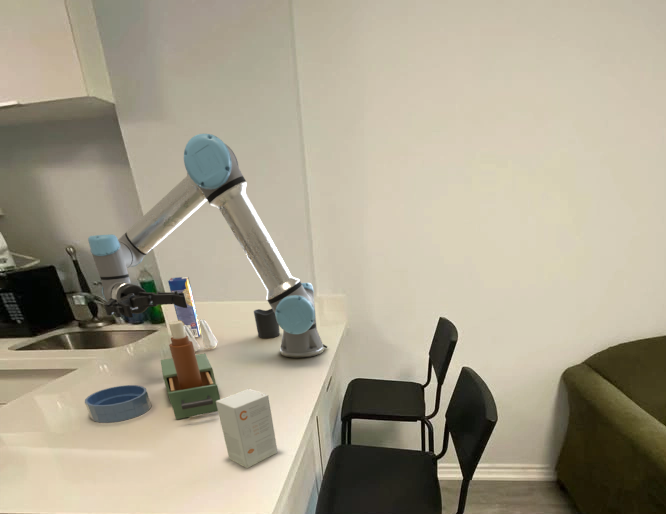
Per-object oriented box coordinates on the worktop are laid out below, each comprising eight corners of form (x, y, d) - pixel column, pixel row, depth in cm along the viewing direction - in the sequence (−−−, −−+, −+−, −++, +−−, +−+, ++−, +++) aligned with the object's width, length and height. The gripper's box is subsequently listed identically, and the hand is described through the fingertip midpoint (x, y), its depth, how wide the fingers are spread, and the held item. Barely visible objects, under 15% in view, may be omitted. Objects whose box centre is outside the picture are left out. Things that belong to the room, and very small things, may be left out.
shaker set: (218, 346, 164) (212, 316, 158) (219, 349, 160) (213, 319, 154) (185, 351, 160) (178, 320, 154) (186, 353, 157) (178, 323, 151)
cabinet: (218, 397, 118) (212, 367, 114) (171, 405, 114) (162, 375, 110) (211, 380, 130) (205, 353, 126) (168, 387, 126) (160, 359, 122)
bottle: (209, 397, 113) (191, 319, 103) (200, 405, 108) (180, 325, 98) (190, 397, 114) (170, 319, 103) (180, 405, 109) (158, 325, 99)
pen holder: (270, 339, 170) (266, 313, 165) (252, 337, 174) (248, 311, 169) (285, 334, 177) (282, 308, 171) (268, 332, 181) (264, 307, 176)
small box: (259, 444, 93) (249, 387, 86) (278, 452, 89) (269, 394, 83) (228, 459, 88) (214, 400, 81) (247, 469, 84) (234, 408, 78)
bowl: (162, 402, 116) (157, 385, 114) (131, 425, 104) (124, 406, 102) (114, 401, 118) (108, 384, 116) (79, 424, 106) (71, 405, 103)
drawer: (225, 416, 105) (219, 390, 101) (177, 426, 101) (169, 399, 97) (214, 392, 119) (209, 368, 116) (172, 399, 115) (165, 375, 112)
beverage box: (200, 330, 187) (188, 276, 176) (199, 336, 178) (186, 280, 167) (184, 332, 186) (171, 277, 174) (182, 338, 176) (168, 281, 165)
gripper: (177, 304, 129) (208, 313, 115) (87, 320, 115) (109, 332, 101) (171, 277, 125) (202, 283, 111) (76, 290, 111) (98, 298, 97)
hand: (158, 306), depth 106 cm, fingers open, 13 cm apart
